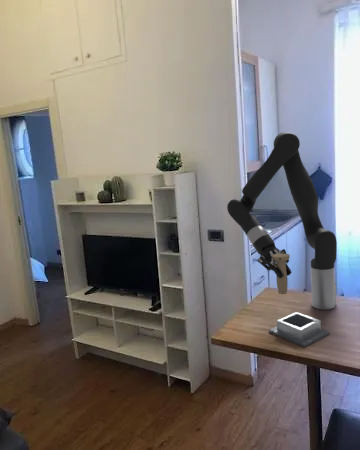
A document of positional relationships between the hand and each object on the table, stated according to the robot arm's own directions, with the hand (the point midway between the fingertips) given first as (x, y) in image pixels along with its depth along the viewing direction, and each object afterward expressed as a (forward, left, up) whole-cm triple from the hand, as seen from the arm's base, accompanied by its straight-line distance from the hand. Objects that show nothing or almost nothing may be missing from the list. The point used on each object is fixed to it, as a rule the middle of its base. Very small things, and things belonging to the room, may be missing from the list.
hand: (285, 275), depth 145 cm
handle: (0, -2, -8) cm, 8 cm away
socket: (+1, +6, -21) cm, 21 cm away
